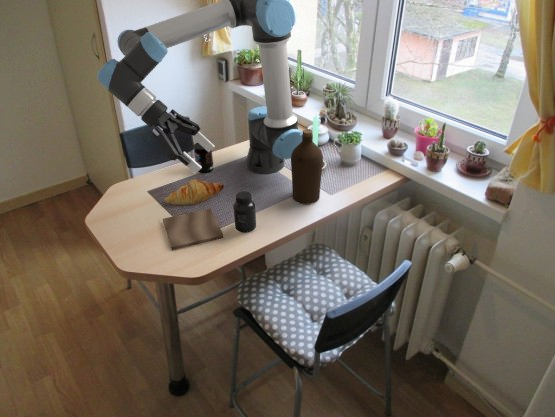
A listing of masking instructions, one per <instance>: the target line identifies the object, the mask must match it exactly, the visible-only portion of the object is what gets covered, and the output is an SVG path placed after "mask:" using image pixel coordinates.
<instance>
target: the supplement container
mask: <svg viewBox="0 0 555 417" xmlns="http://www.w3.org/2000/svg"><path fill="white" fill-rule="evenodd" d="M193 154H194V160H195V161H196V162H197V163H198V164H199V165H200V166H201V167H202V168H201V169H200V170H199V171H198V172H197V173H199V174H203V175H204V174H210V173H211V172H213V170H214V167H215V166H214V159H213V158H214V157H213V149H212V150H211V151H210V152H208V151H207V150H206V149H204V148H203V147H202V146H201V145H200V144H199V143H198V142H196V143H194V144H193Z"/></svg>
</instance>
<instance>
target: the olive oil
mask: <svg viewBox="0 0 555 417" xmlns="http://www.w3.org/2000/svg"><path fill="white" fill-rule="evenodd" d="M313 132H314V131H313V129H309V128H307V129H303V130H302V133H303V134H302V142H301V143H300V144H299V145H298V146H296V147H295V148H294V150H293V152H292V155H291V158H290V170H291V186H292V192H291V193H292V194H291V195H292V199H293V201H294V202H296V203H298V204H302V205H311V204H312V205H313V204H315V203H317V202H319V200H320V197H321V183H322V173H323V164H324V162H323V161H324V156H323V151H322V150H321V148H320V147H319V146H318V145H317V144H316V143H315V142H314V141H313V138H314V137H313V135H314V134H313Z"/></svg>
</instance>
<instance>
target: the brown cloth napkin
mask: <svg viewBox="0 0 555 417" xmlns="http://www.w3.org/2000/svg"><path fill="white" fill-rule="evenodd" d="M162 222H163V227H164V229H165V232H166V237H167V240H168V243H169V247H170V249H171V251H176V250H180V249H185V248H189V247H192V246H196V245H200V244H201V245H202V244H205V243H209V242H214V241H218V240H223V239H225V235H224V233H223V231H222V229H221V227H220V224H219V223H218V221H217V218H216V216H215V215H214V212H213V209H212V208H205V209H201V210H196V211H192V212H187V213H182V214H178V215H173V216H169V217H164V218H162Z"/></svg>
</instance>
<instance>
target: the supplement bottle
mask: <svg viewBox="0 0 555 417" xmlns="http://www.w3.org/2000/svg"><path fill="white" fill-rule="evenodd" d="M252 197H253V196H252V193H251V192H250V191H246V190H245V191H244V190H243V191H239V192H237V193H236V195H235V201H234V203H233V206H232V207H233V219H234V220H233V221H234V228H235V229H236V231H237V232H238V233H239V232H240V233H243V234H248V233H252V232H254V230H256V228H257V215H256V214H257V212H256V211H257V209H256V203H255V202H254V200H253V198H252Z"/></svg>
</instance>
